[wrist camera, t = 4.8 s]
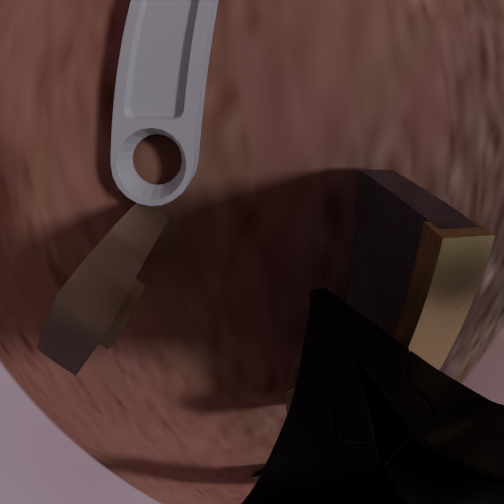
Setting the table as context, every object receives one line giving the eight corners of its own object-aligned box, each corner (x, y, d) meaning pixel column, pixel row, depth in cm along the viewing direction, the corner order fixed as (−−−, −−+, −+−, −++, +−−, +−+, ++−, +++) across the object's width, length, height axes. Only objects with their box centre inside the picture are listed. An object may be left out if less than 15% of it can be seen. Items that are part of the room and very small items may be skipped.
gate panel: (353, 384, 14) (375, 461, 9) (325, 389, 14) (341, 469, 9) (397, 170, 8) (497, 236, 4) (353, 169, 8) (442, 240, 4)
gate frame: (337, 385, 15) (357, 471, 10) (298, 402, 15) (309, 486, 10) (148, 191, 9) (61, 288, 4) (103, 234, 10) (23, 336, 5)
